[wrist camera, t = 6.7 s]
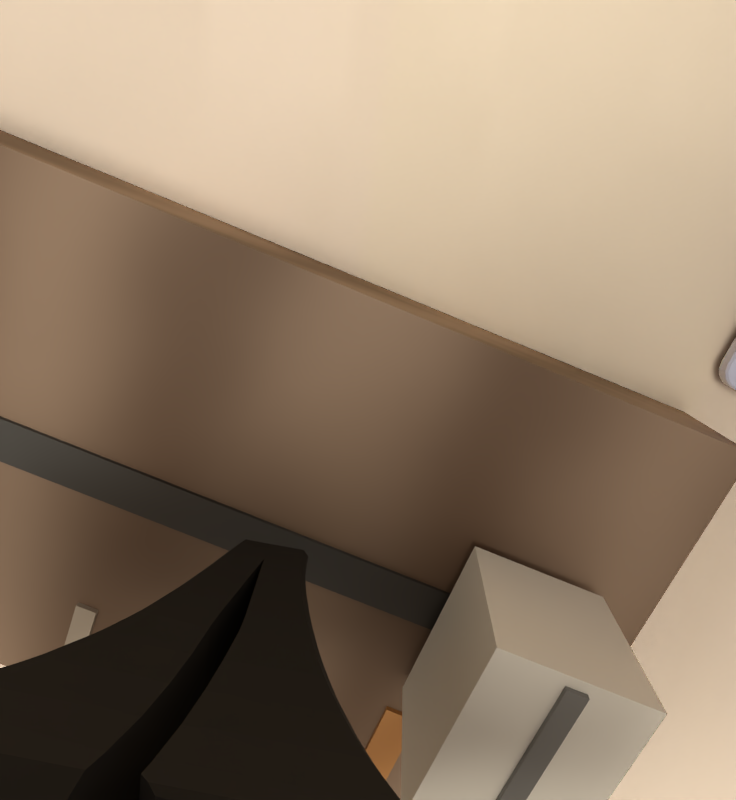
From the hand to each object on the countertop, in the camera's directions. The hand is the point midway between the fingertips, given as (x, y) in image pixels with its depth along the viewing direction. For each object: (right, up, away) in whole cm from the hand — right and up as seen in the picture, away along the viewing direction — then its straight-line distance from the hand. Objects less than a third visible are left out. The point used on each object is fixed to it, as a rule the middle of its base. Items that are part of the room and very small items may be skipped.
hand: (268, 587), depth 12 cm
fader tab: (+5, -2, +1) cm, 5 cm away
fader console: (-2, +2, +4) cm, 5 cm away
